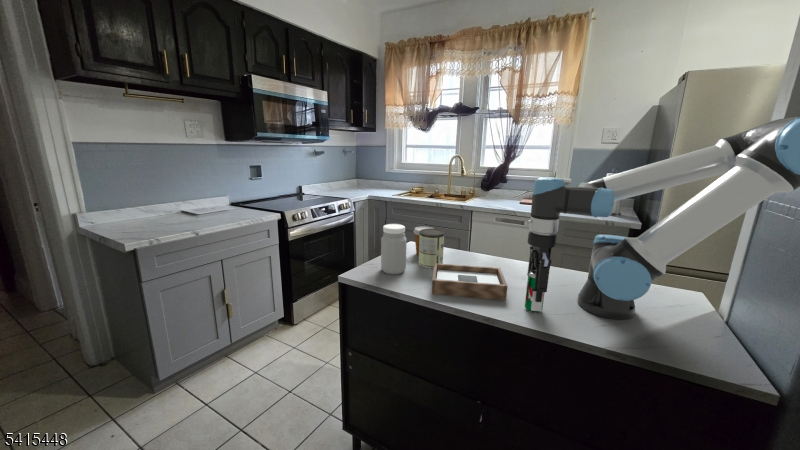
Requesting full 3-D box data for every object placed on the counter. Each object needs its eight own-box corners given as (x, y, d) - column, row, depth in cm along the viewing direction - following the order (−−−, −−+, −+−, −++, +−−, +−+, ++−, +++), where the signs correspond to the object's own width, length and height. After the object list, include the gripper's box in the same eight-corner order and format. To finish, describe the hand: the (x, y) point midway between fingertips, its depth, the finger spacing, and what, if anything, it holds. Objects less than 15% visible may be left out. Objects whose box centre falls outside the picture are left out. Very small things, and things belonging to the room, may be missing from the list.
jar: (388, 264, 134) (389, 222, 129) (409, 268, 130) (411, 225, 125) (376, 272, 125) (376, 227, 121) (398, 277, 121) (399, 230, 117)
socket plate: (495, 281, 119) (496, 274, 118) (501, 298, 106) (502, 289, 105) (437, 277, 122) (437, 269, 121) (435, 292, 109) (436, 284, 108)
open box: (498, 280, 120) (500, 267, 119) (505, 300, 105) (507, 286, 103) (433, 275, 123) (434, 263, 122) (431, 294, 108) (432, 280, 107)
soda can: (543, 308, 99) (548, 271, 97) (540, 315, 95) (545, 277, 92) (525, 304, 102) (530, 268, 99) (522, 310, 98) (527, 273, 95)
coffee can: (418, 259, 141) (419, 227, 137) (442, 260, 140) (444, 229, 136) (417, 268, 131) (418, 234, 127) (443, 269, 130) (445, 235, 126)
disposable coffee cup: (438, 255, 146) (439, 230, 143) (420, 259, 141) (421, 232, 138) (425, 249, 153) (427, 225, 151) (408, 252, 149) (409, 227, 146)
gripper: (522, 223, 102) (515, 291, 108) (537, 239, 85) (527, 320, 90) (547, 225, 101) (538, 293, 106) (567, 241, 84) (556, 322, 89)
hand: (533, 305), depth 98 cm, fingers closed on soda can, 5 cm apart
